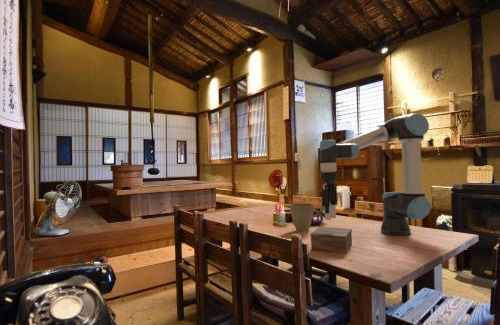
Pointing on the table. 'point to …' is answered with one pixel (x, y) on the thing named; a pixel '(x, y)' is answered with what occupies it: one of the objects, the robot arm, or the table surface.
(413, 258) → the table surface
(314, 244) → the walnut box
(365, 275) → the table surface
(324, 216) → the origami crane
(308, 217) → the plant pot
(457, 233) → the table surface
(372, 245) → the table surface
